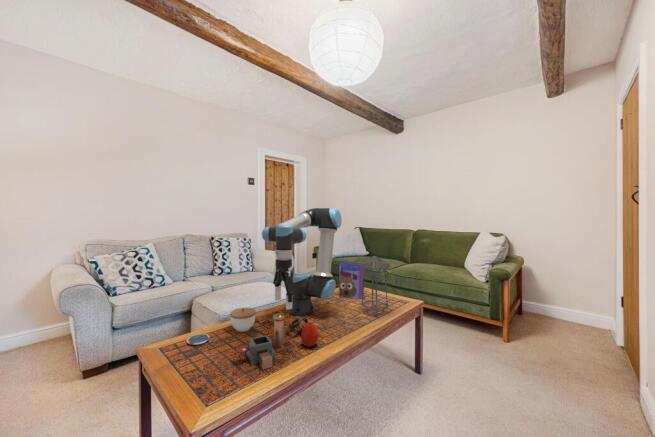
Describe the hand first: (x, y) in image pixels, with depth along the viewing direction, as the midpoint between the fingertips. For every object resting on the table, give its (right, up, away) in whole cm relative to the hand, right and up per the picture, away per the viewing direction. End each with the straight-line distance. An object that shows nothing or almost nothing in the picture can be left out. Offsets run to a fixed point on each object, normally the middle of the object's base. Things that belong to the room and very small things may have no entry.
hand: (283, 304), depth 128 cm
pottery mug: (+6, -19, +15) cm, 25 cm away
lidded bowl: (-24, -18, +17) cm, 35 cm away
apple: (+12, -20, +2) cm, 23 cm away
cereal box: (+38, -17, +72) cm, 83 cm away
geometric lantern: (+49, -19, +44) cm, 69 cm away
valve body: (-10, -19, -11) cm, 24 cm away
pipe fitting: (-2, -19, +1) cm, 19 cm away
